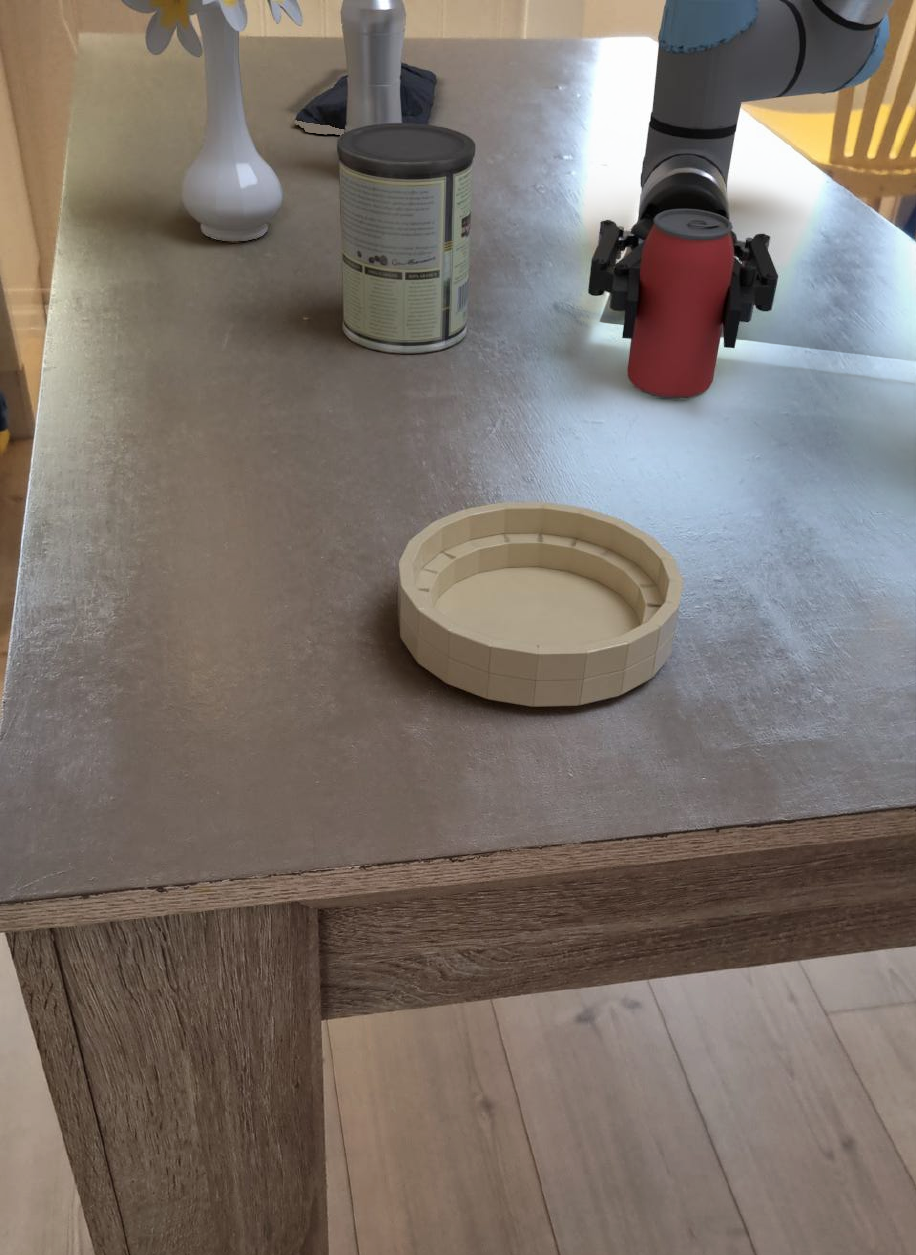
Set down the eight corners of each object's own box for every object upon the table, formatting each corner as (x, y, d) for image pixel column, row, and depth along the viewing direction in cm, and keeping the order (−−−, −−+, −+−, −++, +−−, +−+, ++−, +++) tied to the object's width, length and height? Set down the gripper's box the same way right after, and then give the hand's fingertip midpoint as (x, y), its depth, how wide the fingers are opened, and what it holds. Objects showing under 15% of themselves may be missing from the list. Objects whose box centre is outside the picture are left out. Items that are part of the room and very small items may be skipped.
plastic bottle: (357, 189, 132) (353, -44, 119) (334, 169, 137) (328, -57, 124) (415, 183, 135) (419, -46, 121) (391, 164, 139) (391, -59, 126)
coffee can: (334, 307, 109) (330, 122, 100) (455, 303, 111) (462, 121, 101) (348, 357, 102) (344, 163, 92) (478, 353, 103) (487, 161, 94)
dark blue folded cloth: (455, 95, 161) (457, 52, 158) (420, 145, 145) (421, 98, 141) (334, 85, 162) (333, 41, 159) (287, 133, 146) (284, 86, 143)
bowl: (683, 581, 79) (694, 523, 77) (656, 737, 68) (667, 674, 65) (434, 544, 81) (435, 486, 79) (366, 688, 70) (365, 626, 67)
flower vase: (134, 262, 115) (91, -78, 98) (200, 197, 129) (173, -111, 112) (277, 277, 114) (259, -65, 97) (329, 210, 127) (320, -100, 110)
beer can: (720, 403, 98) (750, 238, 90) (634, 403, 98) (656, 236, 90) (701, 366, 103) (728, 206, 95) (618, 366, 102) (639, 205, 94)
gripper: (791, 274, 111) (808, 388, 94) (563, 255, 112) (539, 363, 95) (810, 180, 106) (832, 282, 89) (571, 161, 107) (548, 258, 90)
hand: (681, 324), depth 92 cm, fingers closed on beer can, 6 cm apart
